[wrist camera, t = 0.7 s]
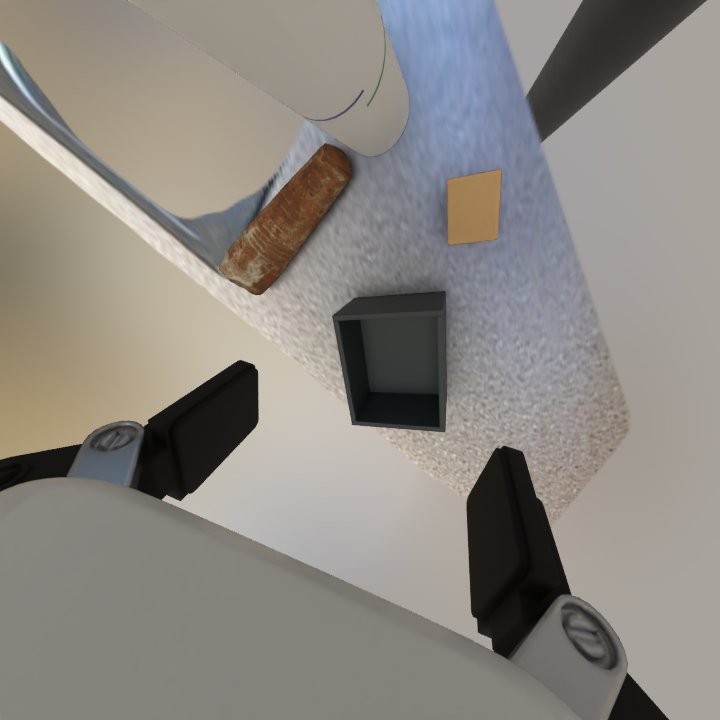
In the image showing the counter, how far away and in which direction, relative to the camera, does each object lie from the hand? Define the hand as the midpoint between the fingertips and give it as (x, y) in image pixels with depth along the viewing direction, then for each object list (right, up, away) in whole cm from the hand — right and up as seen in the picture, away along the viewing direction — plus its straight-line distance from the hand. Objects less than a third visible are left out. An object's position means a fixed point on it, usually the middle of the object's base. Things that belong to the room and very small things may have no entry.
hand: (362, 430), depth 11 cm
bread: (-8, +20, +24) cm, 32 cm away
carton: (+11, +18, +18) cm, 28 cm away
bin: (+6, +4, +27) cm, 27 cm away
